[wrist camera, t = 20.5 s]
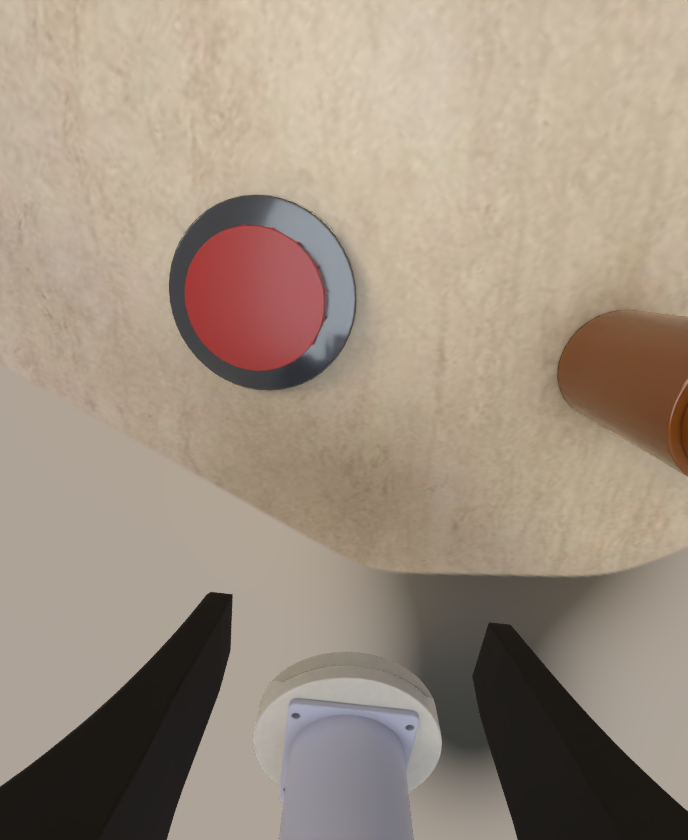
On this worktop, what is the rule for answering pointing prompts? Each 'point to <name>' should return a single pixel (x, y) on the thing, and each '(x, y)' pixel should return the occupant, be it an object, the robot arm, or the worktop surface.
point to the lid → (255, 297)
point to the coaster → (321, 249)
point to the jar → (633, 380)
